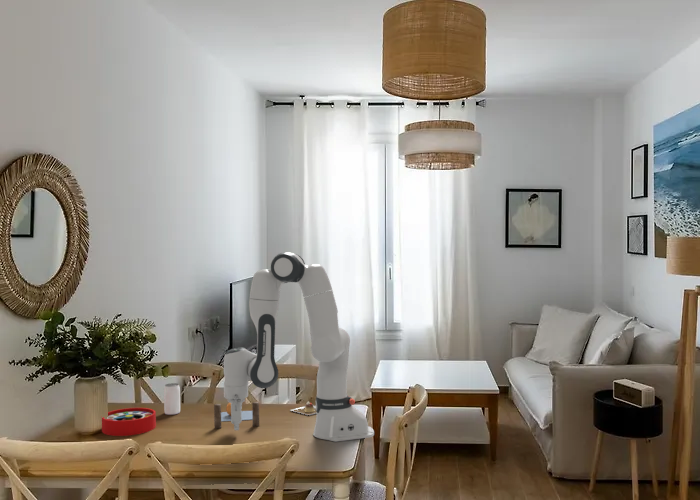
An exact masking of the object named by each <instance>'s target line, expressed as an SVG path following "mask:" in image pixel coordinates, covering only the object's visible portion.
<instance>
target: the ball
mask: <svg viewBox="0 0 700 500" xmlns="http://www.w3.org/2000/svg"><path fill="white" fill-rule="evenodd" d="M225 412H227V413H228V414H229V415H230V416H231V403H229V402H228V403H227V405H226V411H225Z"/></svg>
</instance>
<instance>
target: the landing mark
mask: <svg viewBox="0 0 700 500" xmlns="http://www.w3.org/2000/svg"><path fill="white" fill-rule="evenodd" d="M241 415H242V421H253V416H252V410H241ZM222 422H231V416H230V415H229V414H228V413H227V411H221V423H222Z"/></svg>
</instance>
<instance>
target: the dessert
mask: <svg viewBox="0 0 700 500" xmlns="http://www.w3.org/2000/svg"><path fill="white" fill-rule="evenodd" d="M304 408H305V409H304ZM298 409H301V410H303V412H304V411H305V412H304V413H303V412H299V410H298ZM294 410H297V411H294ZM289 411H291V412H292V411H293V413H296V412H297V414H300V413H301V414H300V415H304V414H305V415H304V416H308V415H309V416H313V415H317V412H315V411H316V405H314V404H313V403H312V402H310V401H309V400H308V401H307V402H306V404H305V405H304V406H301V407H296V408H293V409H289ZM308 413H309V414H308Z"/></svg>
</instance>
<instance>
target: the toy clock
mask: <svg viewBox="0 0 700 500" xmlns="http://www.w3.org/2000/svg"><path fill="white" fill-rule="evenodd" d="M107 412H108V417H107V419H105V418H104V417H103V418H102V417H101V433H103V434H104V435H107V436H114V437H123V436H124V437H125V436H127V437H128V436H136V435H141V434H145V433H147V432H148V433H149V432H150V431H152V430H155V428H157V418H156V417H157V416H156V415H157V414H156V413H157V412H156V410H155V409H152V408H149V407H148V408H147V407H128V408H120V409H114V410H110V411H107Z"/></svg>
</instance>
